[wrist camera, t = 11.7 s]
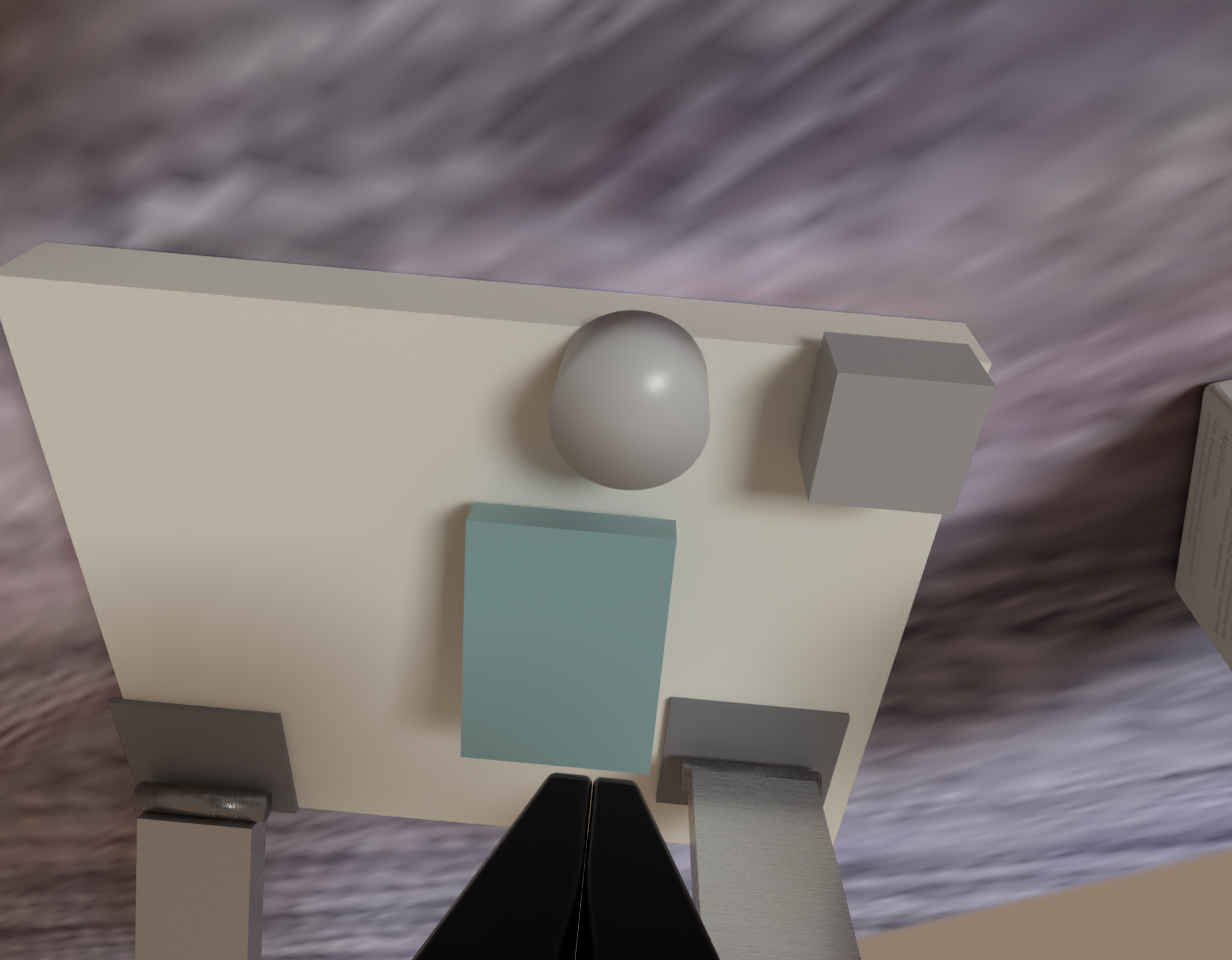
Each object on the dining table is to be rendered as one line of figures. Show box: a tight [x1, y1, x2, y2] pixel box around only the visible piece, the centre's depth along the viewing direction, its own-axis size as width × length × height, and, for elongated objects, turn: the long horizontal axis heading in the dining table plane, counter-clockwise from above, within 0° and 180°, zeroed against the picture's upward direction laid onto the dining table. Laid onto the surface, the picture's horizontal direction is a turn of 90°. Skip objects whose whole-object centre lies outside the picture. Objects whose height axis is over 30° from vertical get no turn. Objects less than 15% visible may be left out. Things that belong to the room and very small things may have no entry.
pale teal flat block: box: [460, 502, 677, 775], centre depth 20 cm, size 6×4×1 cm
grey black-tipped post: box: [680, 759, 861, 960], centre depth 20 cm, size 2×4×9 cm, turn 86°
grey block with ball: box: [132, 781, 272, 960], centre depth 26 cm, size 2×4×9 cm
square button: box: [798, 331, 996, 515], centre depth 17 cm, size 3×3×2 cm
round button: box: [549, 310, 710, 490], centre depth 18 cm, size 3×3×2 cm
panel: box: [0, 242, 992, 845], centre depth 23 cm, size 16×20×3 cm
